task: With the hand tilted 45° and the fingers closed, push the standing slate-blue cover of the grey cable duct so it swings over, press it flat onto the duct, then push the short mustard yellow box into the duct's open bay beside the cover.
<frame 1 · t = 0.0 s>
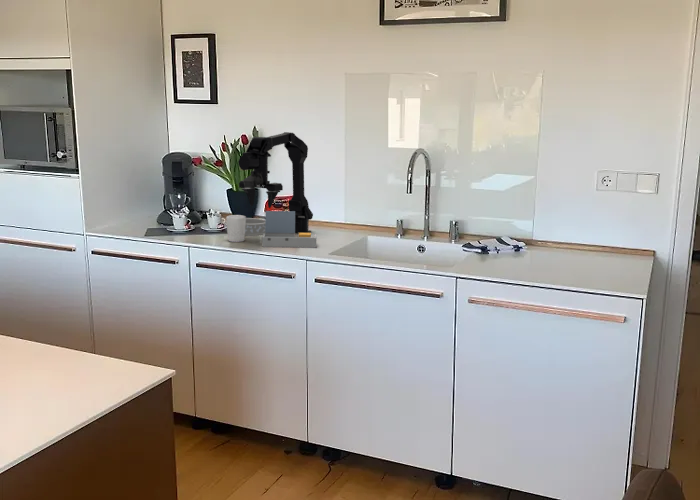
hand: (260, 206, 294), 15 cm above the counter, tool pointing down, fingers open, 9 cm apart
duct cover: (280, 222, 293), point 9 cm above the counter, hinge at -90.0°
white cup: (236, 240, 299), on the counter
dog bowl: (249, 233, 318), on the counter
duct: (289, 245, 291), on the counter
mustard yellow box: (304, 241, 300), on the counter
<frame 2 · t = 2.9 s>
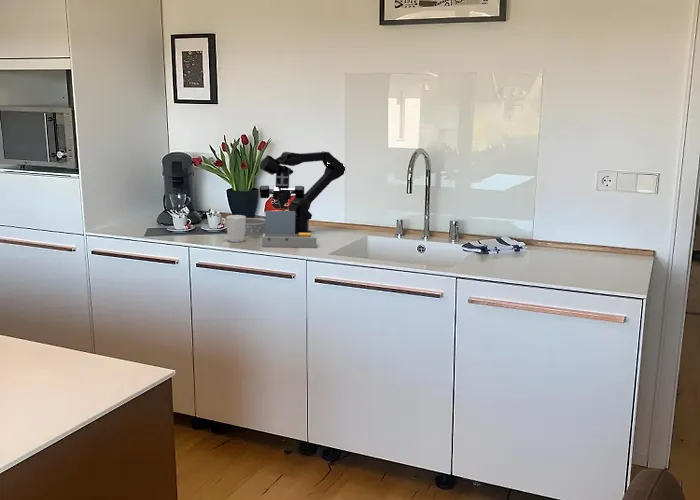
hand: (281, 208, 300), 13 cm above the counter, tool tilted 45°, fingers closed
nothing on the counter moved.
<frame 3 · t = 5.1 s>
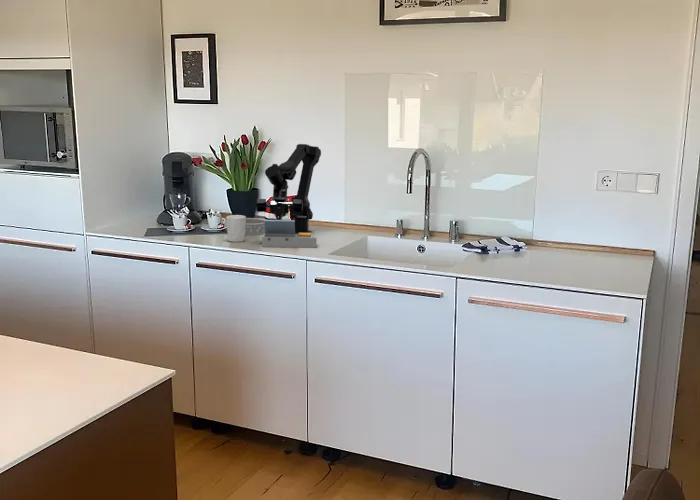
hand: (278, 222, 288), 10 cm above the counter, tool tilted 45°, fingers closed
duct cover: (279, 227, 290), point 7 cm above the counter, hinge at -44.1°, touching gripper
everything else where it was.
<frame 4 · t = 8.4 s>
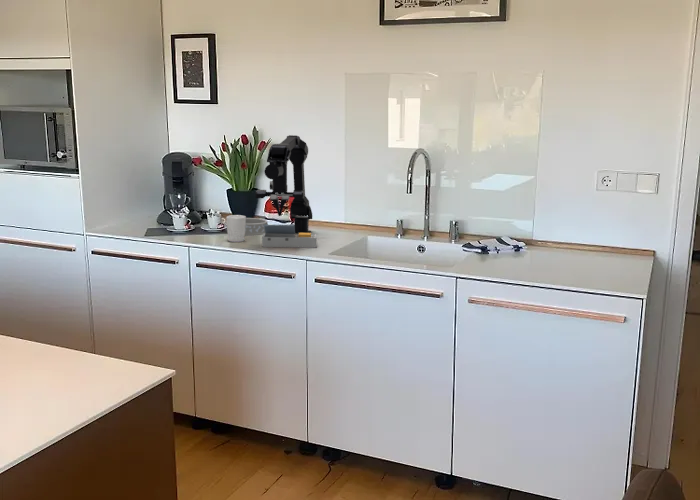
hand: (279, 215, 287), 12 cm above the counter, tool pointing down, fingers closed
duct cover: (279, 229, 290), point 7 cm above the counter, hinge at -30.9°
everything else where it was.
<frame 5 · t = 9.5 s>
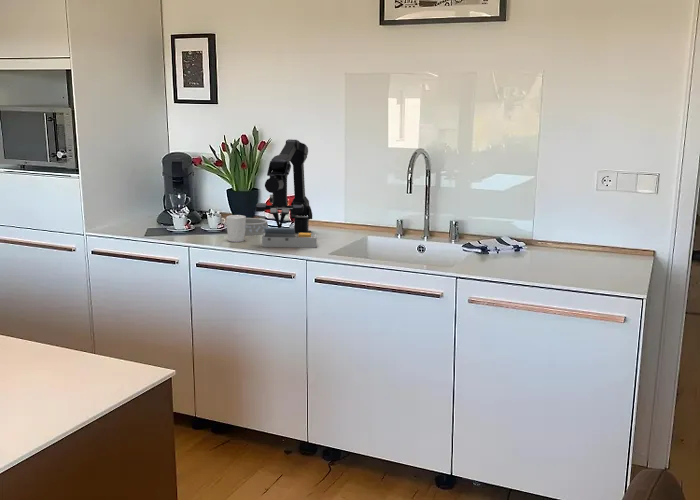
hand: (279, 229, 288), 7 cm above the counter, tool pointing down, fingers closed, pressing on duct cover
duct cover: (279, 230, 289), point 6 cm above the counter, hinge at -22.4°, touching gripper
everything else where it was.
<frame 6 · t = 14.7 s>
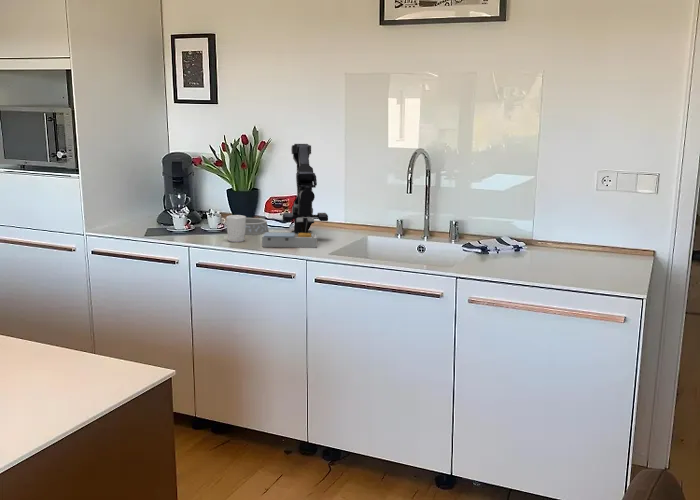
hand: (304, 237, 303), 1 cm above the counter, tool pointing down, fingers closed
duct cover: (279, 234, 289), point 4 cm above the counter, hinge at -1.6°
mustard yellow box: (304, 241, 300), on the counter, touching gripper
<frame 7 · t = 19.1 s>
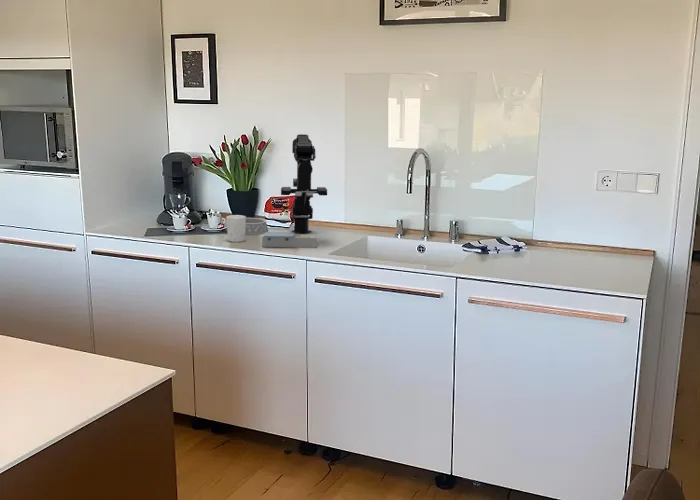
hand: (303, 212, 297), 12 cm above the counter, tool pointing down, fingers closed
mustard yellow box: (303, 246, 292), on the counter
at the end: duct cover at -2° (first picture: -90°); mustard yellow box inside the target area on the duct (0.2 cm from its centre), point 0.0 cm above the duct's base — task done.
